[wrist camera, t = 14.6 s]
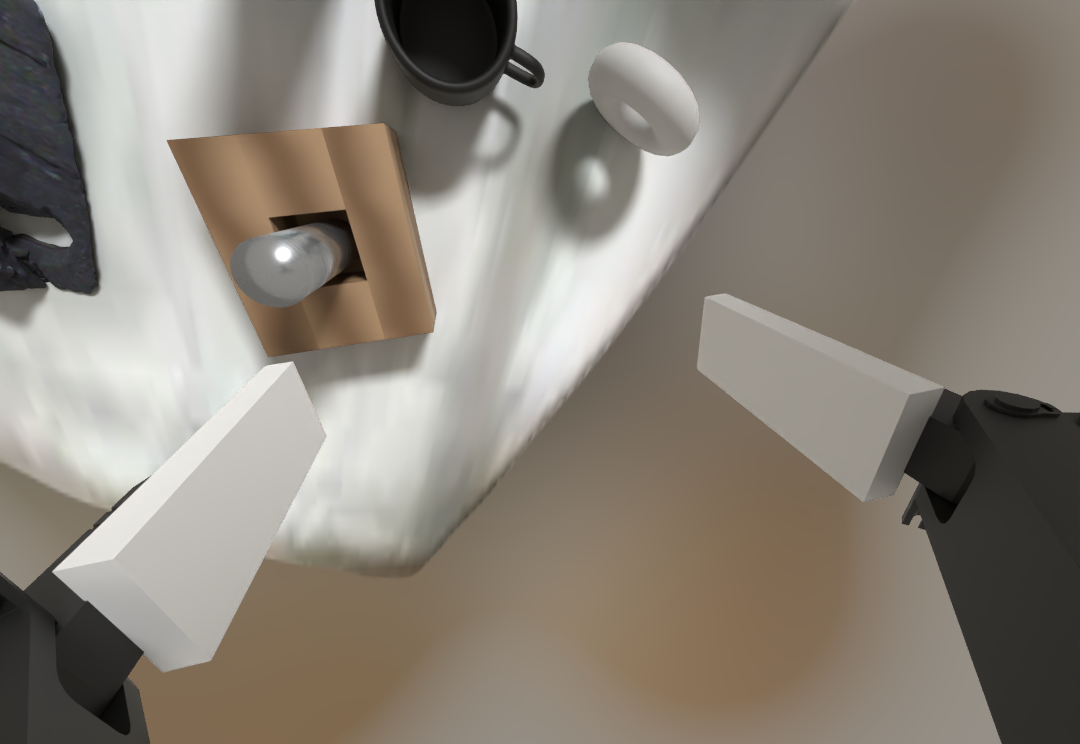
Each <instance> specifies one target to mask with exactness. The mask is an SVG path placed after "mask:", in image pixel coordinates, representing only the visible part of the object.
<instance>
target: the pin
mask: <svg viewBox="0 0 1080 744" xmlns="http://www.w3.org/2000/svg"><path fill="white" fill-rule="evenodd" d="M359 257H360V255H359V252H358V248H357V245H356V242H355V238H354V235H353V232H352V229H351V225H350V224H349V223H348V222H346V221H343V220H340V219H328V220H324V221H320V222H316V223H311V224H307V225H303V226H299V227H295V228H291V229H287V230H283V231H279V232H274V233H270V234H266V235H262V236H258V237H254V238H250V239H247V240H245V241H243V242H242V243H240V244H239V245H238V246H237V247H236V248H235V250H234V251H233V253H232V256H231V260H230V268H231V273H232V276H233V278H234V280H235V282H236V284H237V285H238V287H239V288H240V289H241V290H242V291H243V292H244V293H245V294H246V295H247V296H248V297H250V298H251V299H253V300H254V301H256V302H258V303H260V304H263V305H266V306H270V307H278V308H281V307H289V306H292V305H294V304H296V303H298V302H299V301H301V300H302V299H304V298H305V297H306V296H308V295H309V294H311V293H312V292H313V291H315V290H316V289H318V288H319V287H320V286H322V285H323V284H325V283H326V282H327V281H329V280H330V279H332V278H333V277H334V276H336V275H337V274H339V273H340V272H341V271H343V270H344V269H346V268H347V267H348V266H350V265H351V264H353V263H354V262H355V261H357V260H358V259H359Z"/></svg>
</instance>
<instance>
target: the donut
mask: <svg viewBox="0 0 1080 744" xmlns="http://www.w3.org/2000/svg"><path fill="white" fill-rule="evenodd" d="M588 80H589V88H590V95H591V97H592V99H593V101H594V103H595V105H596V107H597V109H598V110H599V112H600V113H601V115H602V116H603V117H604V119H605V120H606V121H607V122H608V123H609V124H610V125H611V126H612V127H613V128H614V129H615V130H616V131H617V132H618V133H619V134H621V135H622V136H623V137H624V138H625V139H627V140H628V141H630V142H631V143H632V144H634V145H635V146H637V147H639V148H641V149H643V150H644V151H647V152H650V153H652V154H655V155H661V156H671V155H674V154H677V153H680V152H681V151H683V150H685V149H686V148H687V147H688V146H689V145H690V144H691V142H692V140H693V139H694V137H695V135H696V133H697V130H698V127H699V123H700V121H699V111H698V104H697V101H696V99H695V97H694V95H693V92H692V90H691V89H690V87H689V86H688V84H687V83H686V82H685V80H684V79H683V77H682V76H681V75H680V73H679V72H678V71H676V70H675V69H674V68H673V67H672V66H671V65H670V64H669V63H668V62H667V61H666V60H664V59H663V58H662V57H660V56H659V55H657V54H656V53H655V52H653V51H651V50H648V49H646V48H644V47H642V46H639V45H637V44H634V43H626V42H619V43H615V44H612V45H610V46H607V47H606V48H604V49H602V50H601V51H600V52H599V54H598V55H597V56H596V58H595V60H594V62H593V64H592V66H591V69H590V71H589V78H588Z"/></svg>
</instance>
